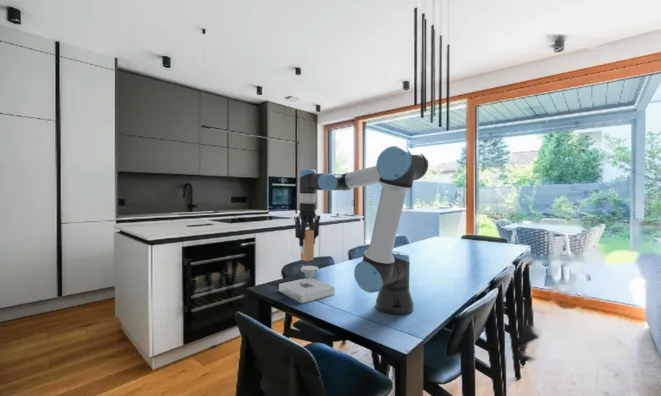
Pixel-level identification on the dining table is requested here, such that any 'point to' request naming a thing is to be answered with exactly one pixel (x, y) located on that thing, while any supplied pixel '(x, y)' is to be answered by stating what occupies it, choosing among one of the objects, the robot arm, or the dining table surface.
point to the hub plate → (306, 289)
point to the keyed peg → (308, 245)
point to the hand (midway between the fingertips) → (307, 252)
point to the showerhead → (309, 270)
